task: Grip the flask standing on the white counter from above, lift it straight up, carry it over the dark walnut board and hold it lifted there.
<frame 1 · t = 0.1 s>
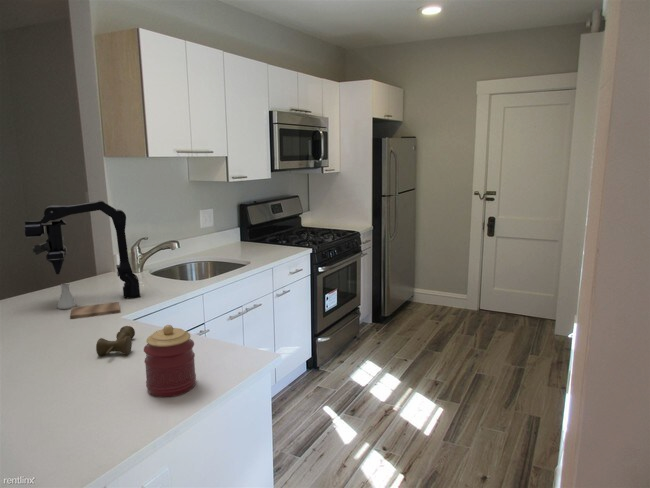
hand: (58, 271, 198), 14 cm above the worktop, tool pointing down, fingers open, 9 cm apart
canister: (171, 387, 128), on the worktop
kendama: (118, 350, 153), on the worktop
walnut board: (95, 311, 191), on the worktop
flask: (67, 307, 197), on the worktop
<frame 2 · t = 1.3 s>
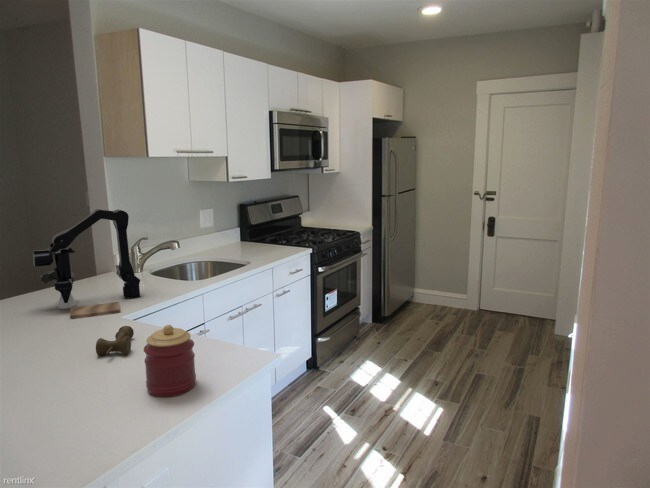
hand: (66, 300, 197), 3 cm above the worktop, tool pointing down, fingers open, 9 cm apart
nothing on the worktop moved.
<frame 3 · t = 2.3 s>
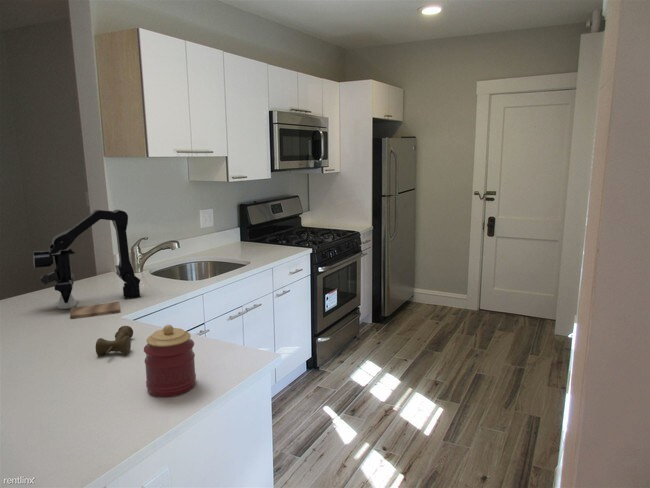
hand: (66, 301, 197), 3 cm above the worktop, tool pointing down, fingers closed on flask, 5 cm apart
flask: (67, 307, 197), on the worktop, touching gripper
everything else where it was.
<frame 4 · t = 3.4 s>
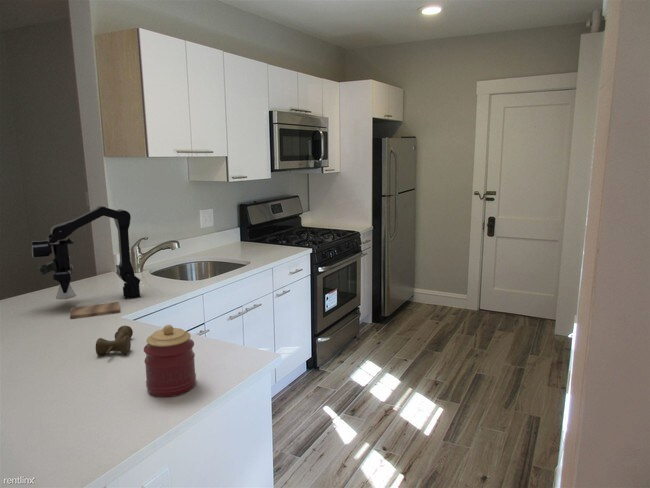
hand: (65, 291, 196), 7 cm above the worktop, tool pointing down, fingers closed on flask, 5 cm apart
flask: (66, 298, 196), point 4 cm above the worktop, touching gripper
everything else where it was.
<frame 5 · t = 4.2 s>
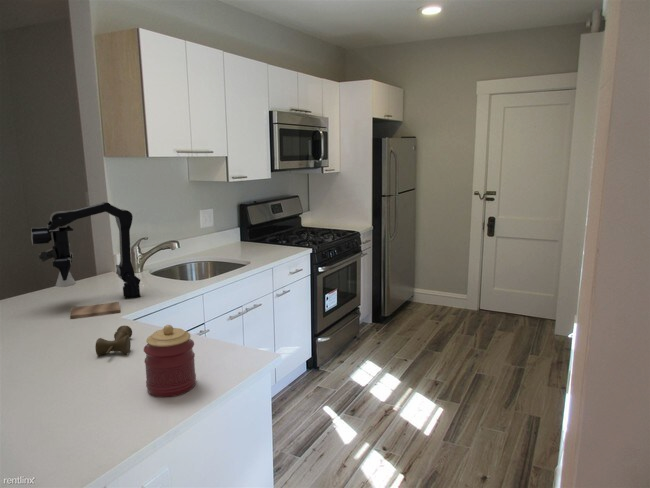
hand: (65, 278, 195), 12 cm above the worktop, tool pointing down, fingers closed on flask, 5 cm apart
flask: (65, 285, 195), point 9 cm above the worktop, touching gripper
everything else where it was.
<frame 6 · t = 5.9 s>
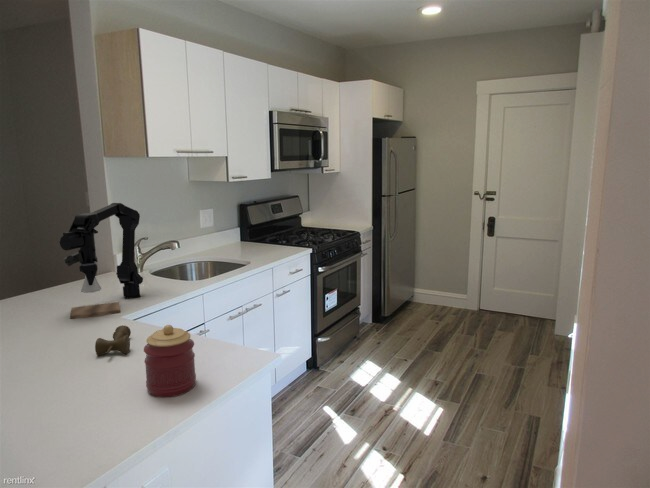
hand: (90, 283, 189), 12 cm above the worktop, tool pointing down, fingers closed on flask, 5 cm apart
flask: (91, 291, 189), point 9 cm above the worktop, touching gripper
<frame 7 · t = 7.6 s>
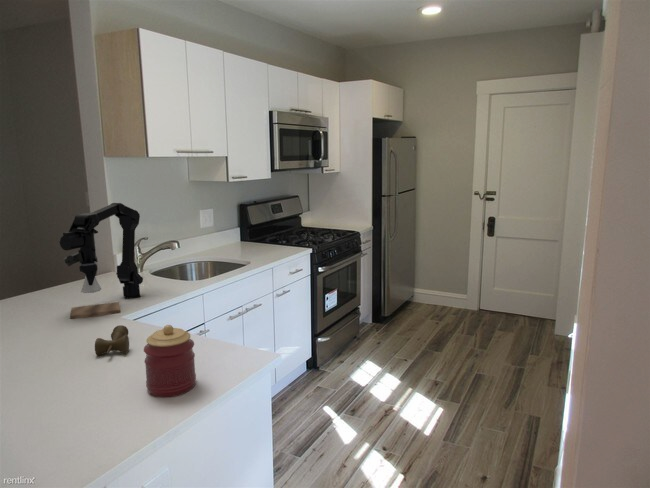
hand: (90, 283, 189), 12 cm above the worktop, tool pointing down, fingers closed on flask, 5 cm apart
flask: (91, 291, 189), point 8 cm above the worktop, touching gripper
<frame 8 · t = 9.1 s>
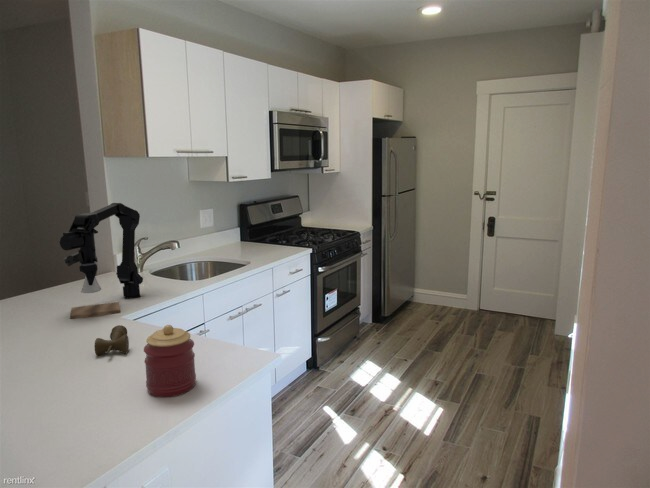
hand: (90, 283, 189), 12 cm above the worktop, tool pointing down, fingers closed on flask, 5 cm apart
flask: (91, 291, 189), point 8 cm above the worktop, touching gripper
at the end: the gripper is holding flask; flask inside the target area on the walnut board (1.0 cm from its centre), point 8.4 cm above the walnut board's base; flask tilted 0° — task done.
